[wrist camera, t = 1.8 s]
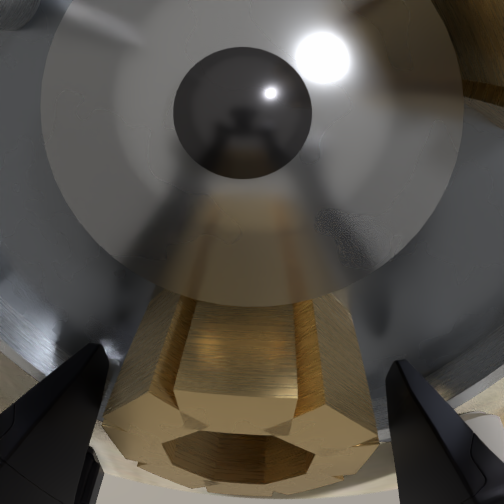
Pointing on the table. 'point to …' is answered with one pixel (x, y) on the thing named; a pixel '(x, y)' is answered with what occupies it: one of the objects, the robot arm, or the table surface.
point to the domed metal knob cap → (252, 138)
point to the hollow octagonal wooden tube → (244, 396)
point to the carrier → (143, 291)
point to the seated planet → (478, 52)
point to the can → (487, 430)
